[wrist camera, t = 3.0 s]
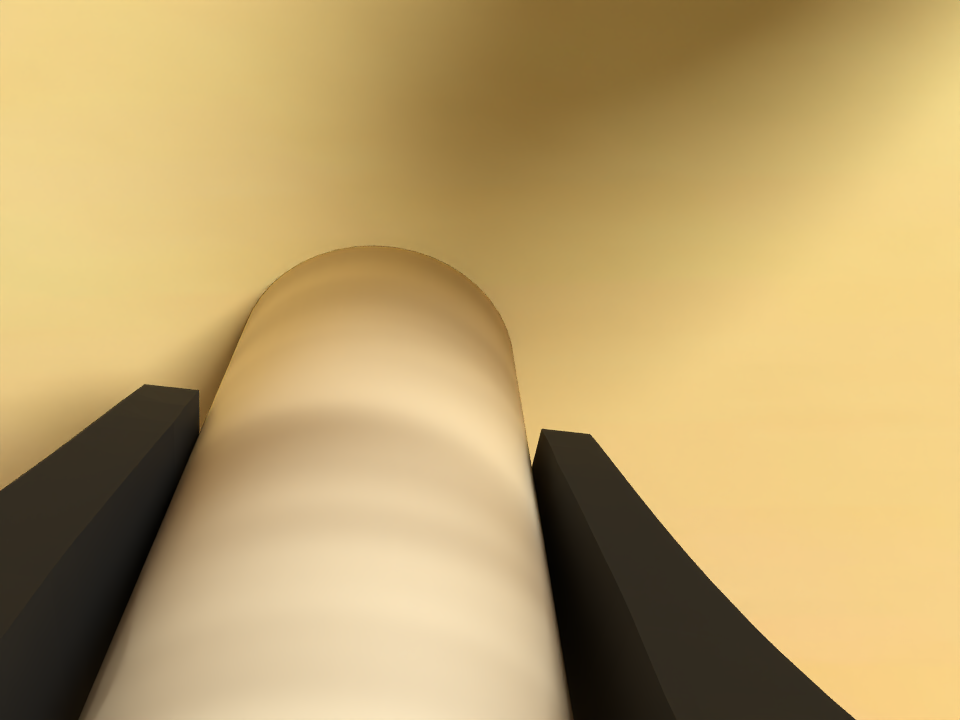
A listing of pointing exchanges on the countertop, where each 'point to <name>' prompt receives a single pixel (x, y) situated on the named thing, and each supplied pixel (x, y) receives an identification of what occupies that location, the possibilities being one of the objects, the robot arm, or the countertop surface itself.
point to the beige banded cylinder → (351, 519)
